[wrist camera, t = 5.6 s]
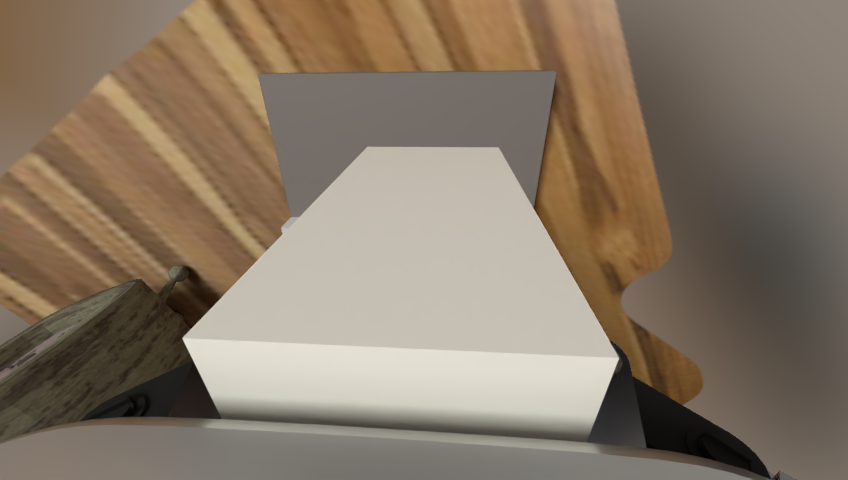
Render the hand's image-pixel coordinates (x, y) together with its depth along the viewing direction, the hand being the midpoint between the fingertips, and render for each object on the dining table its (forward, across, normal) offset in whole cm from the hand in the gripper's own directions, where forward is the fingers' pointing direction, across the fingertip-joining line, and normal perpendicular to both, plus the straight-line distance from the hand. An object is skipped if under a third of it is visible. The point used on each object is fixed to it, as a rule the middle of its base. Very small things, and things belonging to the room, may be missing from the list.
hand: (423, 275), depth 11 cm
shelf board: (+17, +2, 0) cm, 17 cm away
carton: (+4, 0, 0) cm, 4 cm away
